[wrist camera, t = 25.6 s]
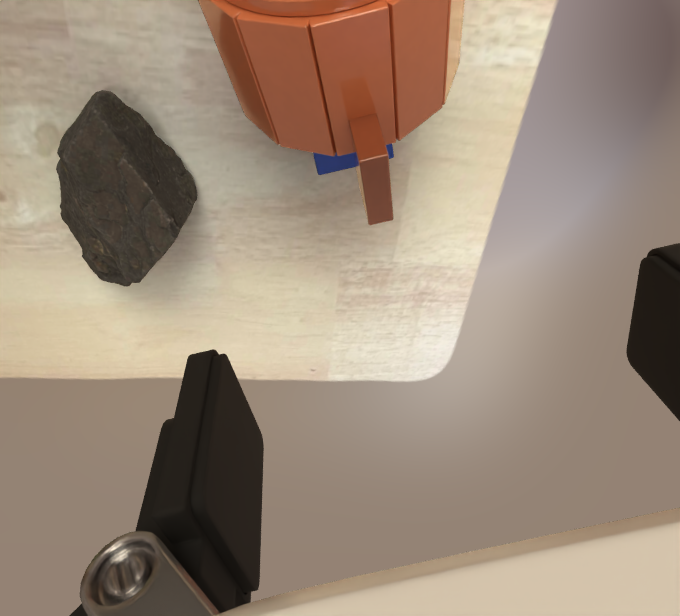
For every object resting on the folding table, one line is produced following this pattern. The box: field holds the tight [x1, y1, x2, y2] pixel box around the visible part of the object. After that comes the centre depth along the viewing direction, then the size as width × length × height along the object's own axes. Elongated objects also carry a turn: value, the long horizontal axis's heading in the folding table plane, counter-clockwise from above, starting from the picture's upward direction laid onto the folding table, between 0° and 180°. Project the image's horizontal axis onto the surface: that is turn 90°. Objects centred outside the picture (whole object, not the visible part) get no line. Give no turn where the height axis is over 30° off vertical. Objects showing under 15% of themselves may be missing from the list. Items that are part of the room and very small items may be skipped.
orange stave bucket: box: [198, 0, 465, 225], centre depth 22 cm, size 11×13×10 cm
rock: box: [56, 91, 197, 286], centre depth 32 cm, size 10×6×10 cm
